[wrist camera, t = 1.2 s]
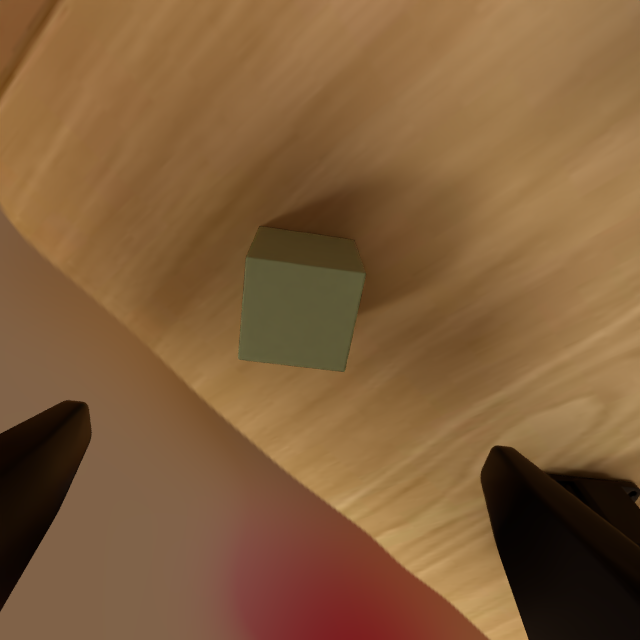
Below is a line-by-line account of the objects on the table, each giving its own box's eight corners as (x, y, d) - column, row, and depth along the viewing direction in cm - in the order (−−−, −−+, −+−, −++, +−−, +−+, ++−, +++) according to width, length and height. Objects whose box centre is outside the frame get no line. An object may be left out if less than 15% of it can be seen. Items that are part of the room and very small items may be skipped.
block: (338, 323, 19) (344, 372, 15) (251, 312, 19) (237, 360, 15) (354, 239, 17) (366, 273, 14) (259, 225, 17) (246, 256, 13)
